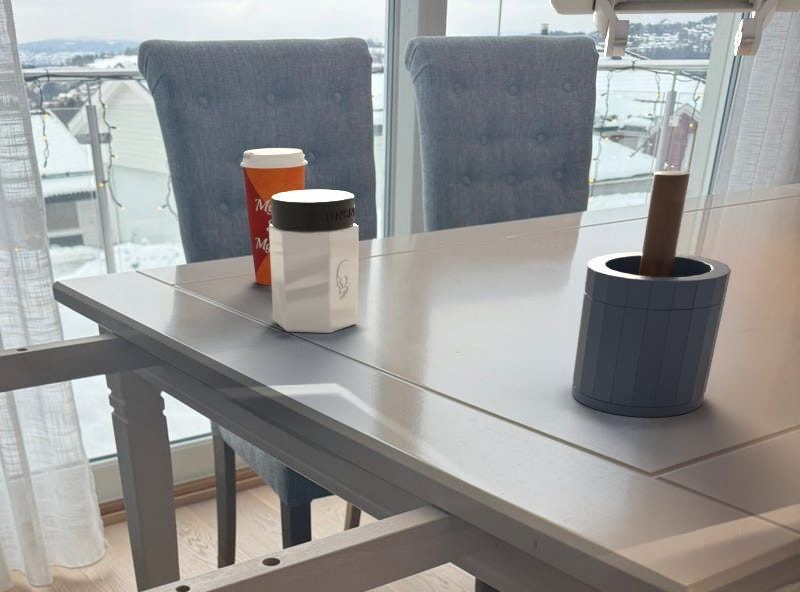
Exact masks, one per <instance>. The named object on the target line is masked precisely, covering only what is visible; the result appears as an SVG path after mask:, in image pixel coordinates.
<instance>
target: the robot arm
mask: <svg viewBox="0 0 800 592" xmlns="http://www.w3.org/2000/svg"><path fill="white" fill-rule="evenodd" d="M549 4H550V6H551V8H552V9H553V10H554V11H555V12H556V13H557V14H558V15H561V16H576V15H577V16H579V15H580V16H581V15H583V16H584V15H593V24H594V26H595V27H596V29H597V30H598V31H599V33H600V34H601V36H602V38H603V39H604V40H605V46H604V47H605V48H604V57H625V56H626V49H627V47H628V46H627V45H628V40H629V28H630V19H619V18H618V15H650V14H651V15H653V14H655V15H656V14H659V15H660V14H661V15H663V14H720V13H721V14H722V13H723V14H726V13H728V14H729V13H731V14H732V13H733V14H734V13H735V14H737V13H752V17H751V18H742V19H741V22H740V24H739V30H737V32H736V36H735V41H734V47H735V48H734V56H737V57H738V56H745V57H746V56H747V57H748V56H750V57H751V56H752V57H753V56H756V55H757V53H758V50H759V47H760V45H761V42H762V37H763V32H764V31H765V29H766V28H767V27H768V25H769V24H770V23H771V22H772V20H773V18H774V15H775V13H800V0H549Z"/></svg>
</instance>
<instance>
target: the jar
mask: <svg viewBox="0 0 800 592" xmlns="http://www.w3.org/2000/svg"><path fill="white" fill-rule="evenodd" d="M355 201H356V200H355V195H354V194H353V193H350V192H348V191H344V190H335V189H333V190H332V189H304V190H301V191H290V192H284V193H279V194H276V195H274V196H272V198H271V211H272V224H270V225H269V240H270V262H271V284H272V286H271V299H272V301H271V302H272V303H271V304H272V305H271V306H272V320H273V322H275V324H278V326H279V327H280V328H282V329H284V330H285V331H286V332H287V333H315V334H316V333H318V334H319V333H320V334H332V333H335V332H337V331H340V330H343V329H345V328H348V327H351V326H354V325H357V324H358V323H359V240H360V239H359V232H360V230H359V228H360V227H359V225H357V224H356V223H355V219H356V218H355V217H356V205H355Z"/></svg>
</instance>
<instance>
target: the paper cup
mask: <svg viewBox="0 0 800 592" xmlns="http://www.w3.org/2000/svg"><path fill="white" fill-rule="evenodd" d="M305 156H306V154H304V152H303V150H302V149H301V148H293V147H292V148H291V147H290V148H289V147H275V148H274V147H273V148H270V147H269V148H257V149H255V148H254V149H248V150H246V151H244V152H243V153H242V161H241V162H240V165H239V166H240V167H242V169H243V178H244V187H245V196H246V197H245V198H246V205H247V206H246V208H247V209H246V210H247V216H248V227H249V228H248V229H249V236H250V243H251V252H252V260H253V269H254V275H255V281H256V283H257V284H259V285H263V286H271V287H272V284H271V262H270V240H269V225H270V224H272V211H271V198H272V196H274V195H276V194H279V193H284V192H290V191H301V190H305V180H306V179H305V178H306V177H305V174H306V165H308V163H309V161H307V160H306V159H305Z"/></svg>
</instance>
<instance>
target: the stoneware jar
mask: <svg viewBox="0 0 800 592" xmlns="http://www.w3.org/2000/svg"><path fill="white" fill-rule="evenodd" d="M641 256H642V251H636V252H635V251H634V252H620V253H612V254H605V255H602V256H598V257H595V258H592V259H591V260H589V261H588V262H587V268H586V274H585V282H584V290H583V299H582V306H581V312H580V320H579V330H578V337H577V344H576V352H575V360H574V367H573V375H572V386H571V395H572V396H573V398H574V399H575V400H576V401H577V402H579V403H581V404H582V405H584V406H586V407H588V408H591V409H593V410H597V411H600V412H604V413H608V414H613V415H619V416H627V417H634V418H635V417H637V418H665V417H666V418H667V417H674V416H680V415H684V414H688V413H690V412H693V411H695V410H697V409H698V408H700V407H701V405H702V404H703V402H704V397H705V393H706V391H707V388H708V387H707V386H708V381H709V377H710V372H711V367H712V362H713V358H714V353H715V349H716V344H717V338H718V334H719V330H720V326H721V325H720V324H721V321H722V316H723V310H724V305H725V302H726V297H727V292H728V287H729V282H730V277H731V273H732V270H731V268H730V266H729V265H728V264H726V263H724V262H722V261H720V260H716V259H712V258H708V257H703V256H700V255H693V254H686V253H676V255H675V261H674V266H673V272H672V277H650V276H639V269H640V262H641Z"/></svg>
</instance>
